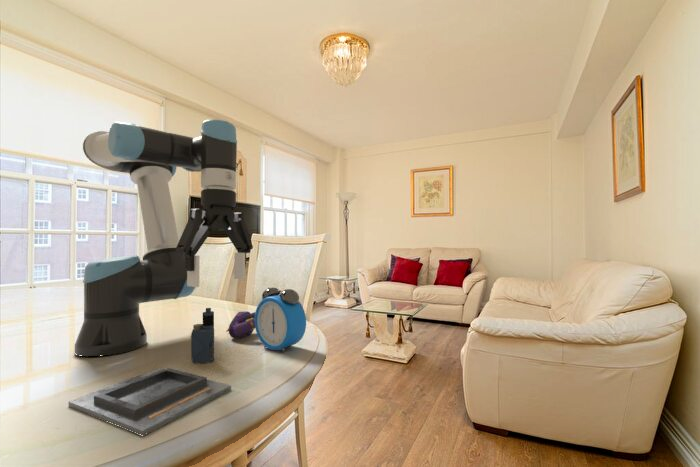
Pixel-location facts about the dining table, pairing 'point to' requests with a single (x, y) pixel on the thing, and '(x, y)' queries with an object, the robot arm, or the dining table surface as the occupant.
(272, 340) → the alarm clock
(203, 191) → the robot arm
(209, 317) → the vaping device
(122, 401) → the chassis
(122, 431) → the dining table surface
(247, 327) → the toy
